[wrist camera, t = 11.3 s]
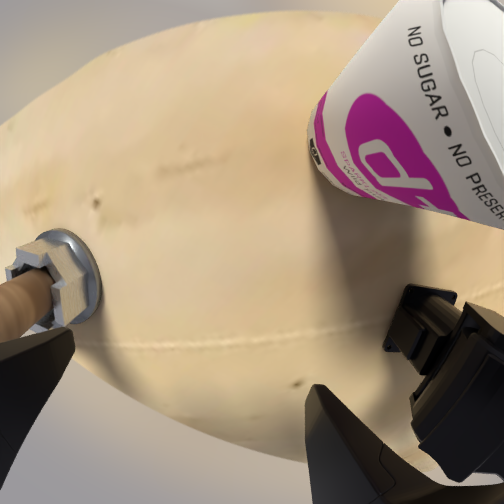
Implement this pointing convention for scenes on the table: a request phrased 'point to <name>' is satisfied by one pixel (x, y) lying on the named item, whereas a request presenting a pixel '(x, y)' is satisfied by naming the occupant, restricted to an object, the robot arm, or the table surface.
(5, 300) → the walnut pin
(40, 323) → the flanged castle nut
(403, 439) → the table surface
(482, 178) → the supplement can
